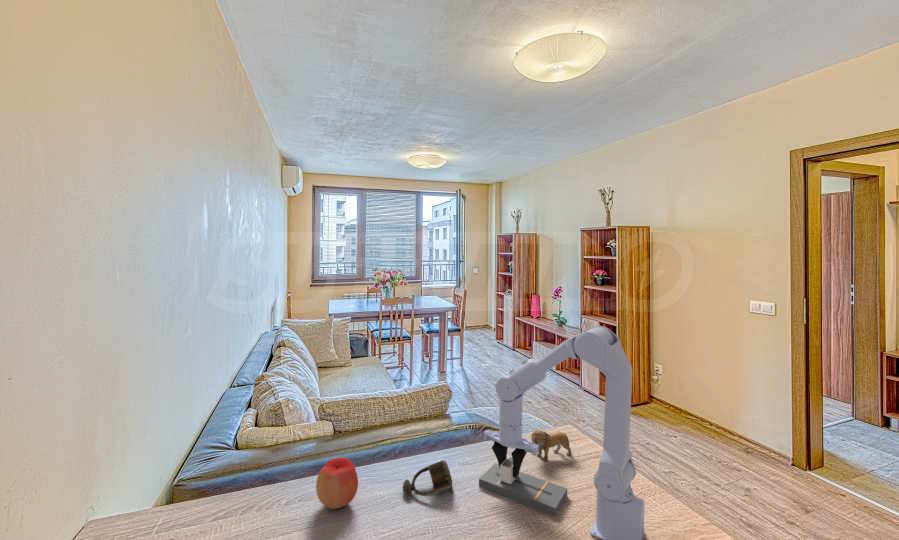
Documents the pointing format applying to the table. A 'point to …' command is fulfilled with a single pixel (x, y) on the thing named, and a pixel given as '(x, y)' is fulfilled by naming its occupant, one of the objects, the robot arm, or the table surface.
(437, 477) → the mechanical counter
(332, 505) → the apple
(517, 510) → the table surface
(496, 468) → the fader console
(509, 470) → the fader knob
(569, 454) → the lion figurine
